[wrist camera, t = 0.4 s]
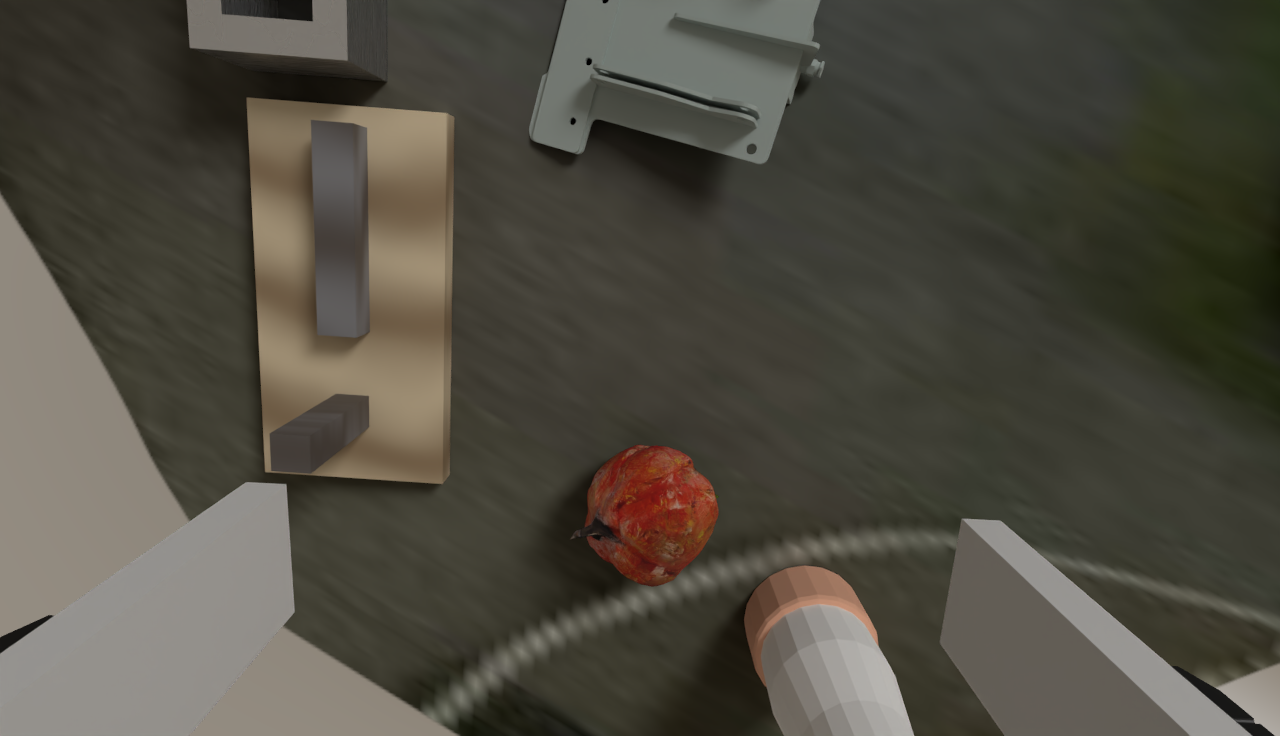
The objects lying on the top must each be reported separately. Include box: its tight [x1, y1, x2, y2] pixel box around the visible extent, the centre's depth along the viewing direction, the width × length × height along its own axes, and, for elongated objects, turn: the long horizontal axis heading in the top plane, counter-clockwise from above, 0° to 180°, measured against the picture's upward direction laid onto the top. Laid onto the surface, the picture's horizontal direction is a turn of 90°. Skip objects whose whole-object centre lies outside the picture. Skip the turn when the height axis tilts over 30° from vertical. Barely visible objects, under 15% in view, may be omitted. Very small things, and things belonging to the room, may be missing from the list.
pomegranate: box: [570, 445, 719, 586], centre depth 37 cm, size 7×7×10 cm
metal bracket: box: [529, 0, 825, 164], centre depth 34 cm, size 14×6×15 cm
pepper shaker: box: [744, 566, 914, 736], centre depth 33 cm, size 7×7×19 cm
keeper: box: [247, 98, 454, 484], centre depth 34 cm, size 20×10×8 cm, turn 176°
